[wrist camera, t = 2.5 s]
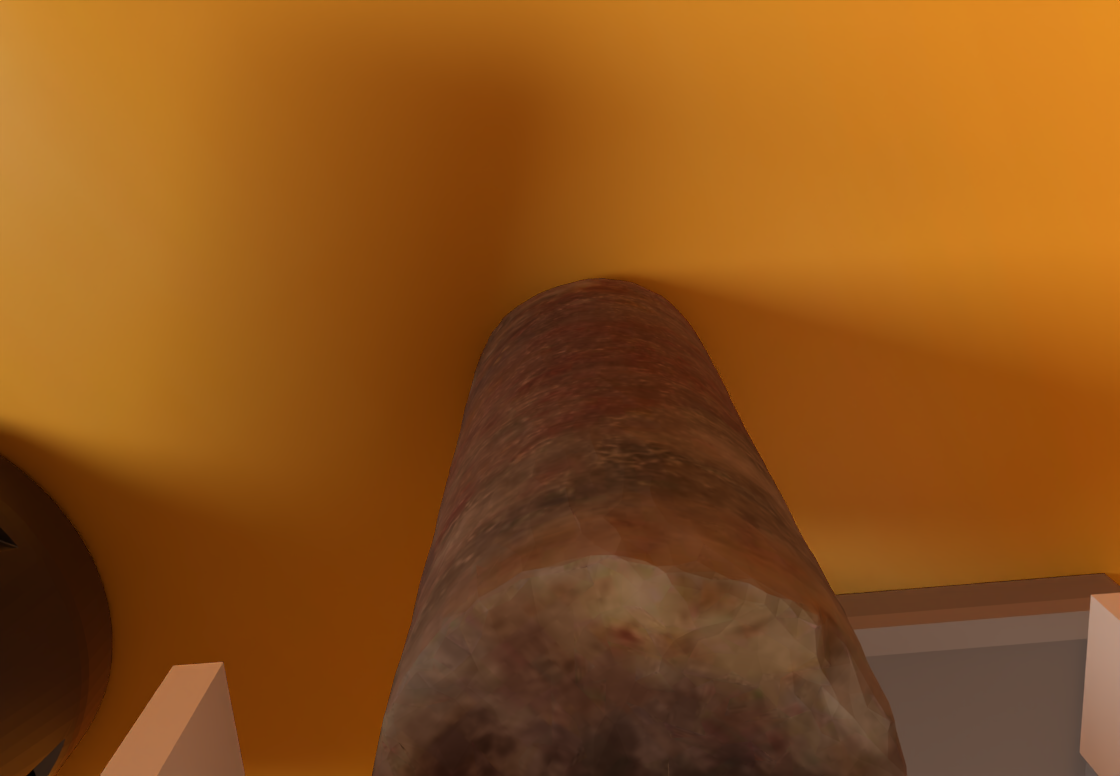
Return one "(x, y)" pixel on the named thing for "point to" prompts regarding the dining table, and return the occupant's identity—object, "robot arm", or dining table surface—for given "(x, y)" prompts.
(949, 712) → the tray
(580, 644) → the brown cylinder
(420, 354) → the dining table surface
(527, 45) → the dining table surface
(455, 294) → the dining table surface
